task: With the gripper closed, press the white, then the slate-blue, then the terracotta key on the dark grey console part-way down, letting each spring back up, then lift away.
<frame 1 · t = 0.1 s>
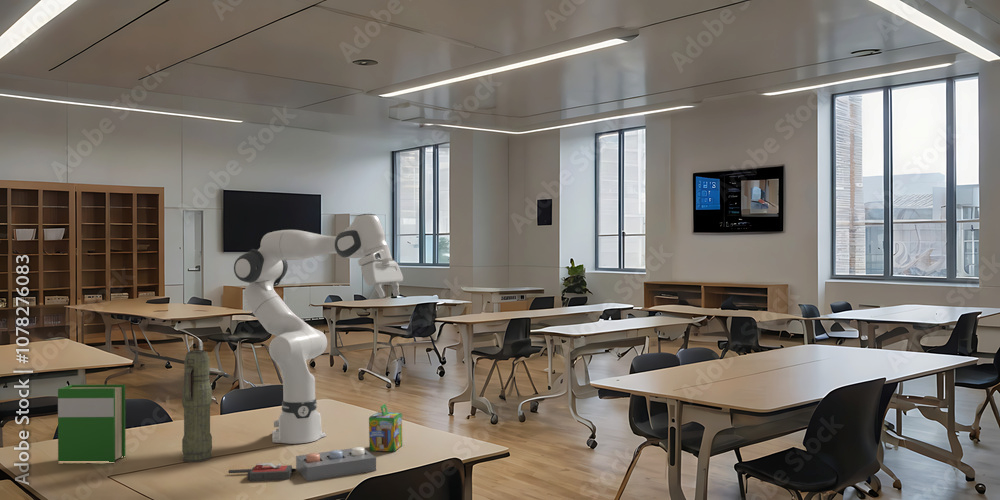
hand: (389, 296, 248), 52 cm above the table, tool tilted 20°, fingers open, 8 cm apart
red key: (313, 459, 220), point 4 cm above the table, slide at 0.0 cm
thermos: (197, 458, 237), on the table
chalk box: (386, 449, 248), on the table
blue key: (335, 456, 224), point 4 cm above the table, slide at 0.0 cm
hardback book: (92, 461, 235), on the table
console: (335, 469, 224), on the table
walkie-talkie: (260, 478, 217), on the table
white key: (357, 453, 227), point 4 cm above the table, slide at 0.0 cm
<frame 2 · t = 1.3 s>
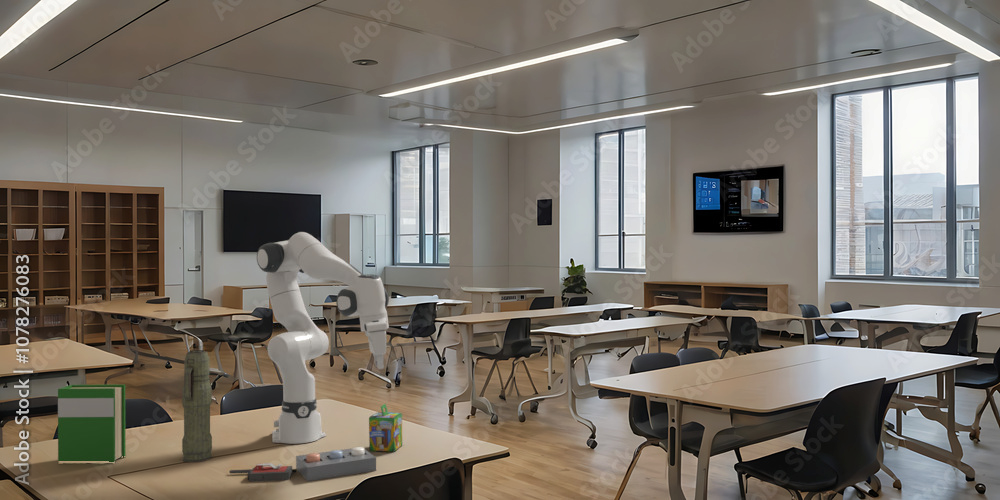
hand: (379, 367, 231), 30 cm above the table, tool pointing down, fingers open, 8 cm apart
nothing on the table moved.
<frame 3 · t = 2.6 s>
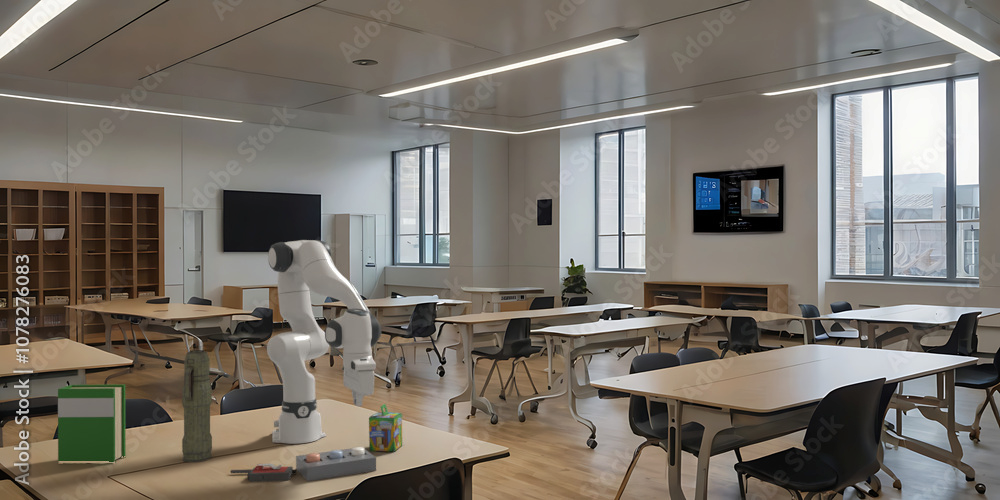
hand: (357, 405, 227), 19 cm above the table, tool pointing down, fingers closed
nothing on the table moved.
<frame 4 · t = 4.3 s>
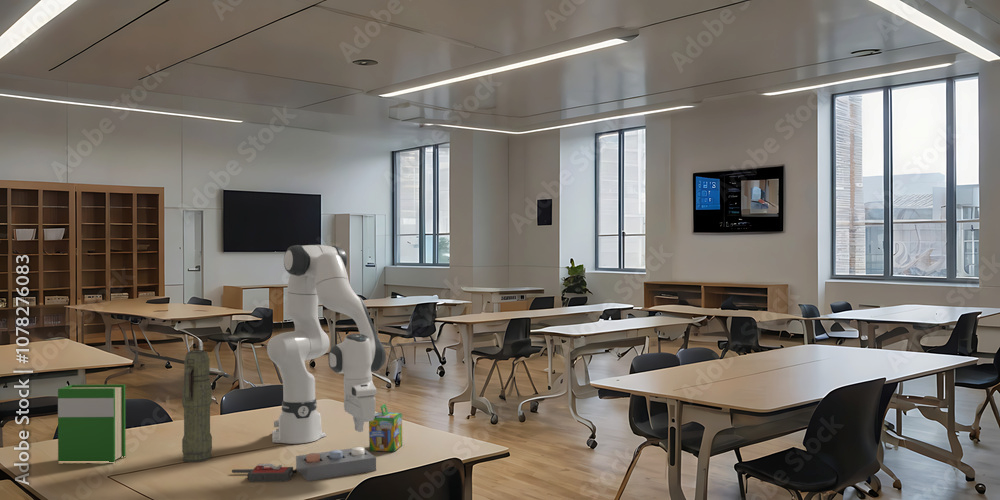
hand: (359, 431, 227), 11 cm above the table, tool pointing down, fingers closed
nothing on the table moved.
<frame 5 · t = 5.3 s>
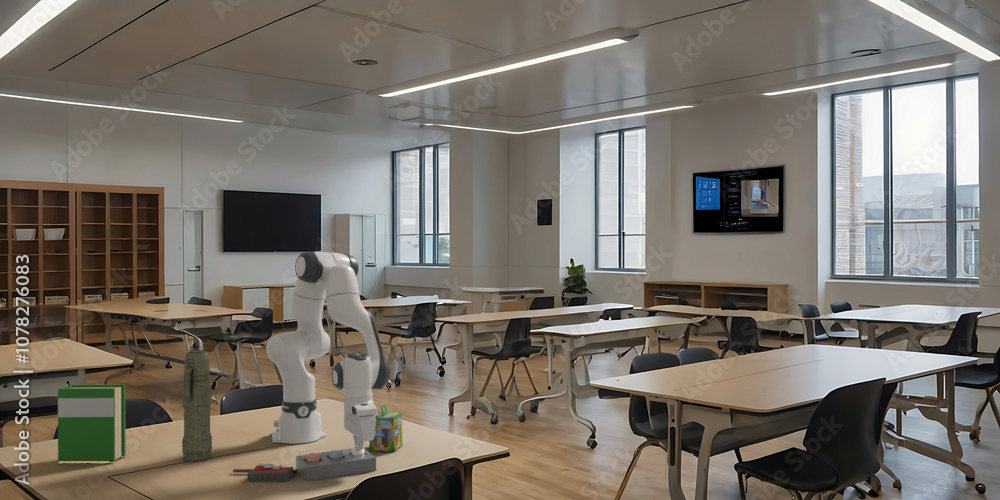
hand: (358, 449, 227), 5 cm above the table, tool pointing down, fingers closed, pressing on white key
white key: (357, 454, 227), point 4 cm above the table, slide at 0.2 cm, touching gripper
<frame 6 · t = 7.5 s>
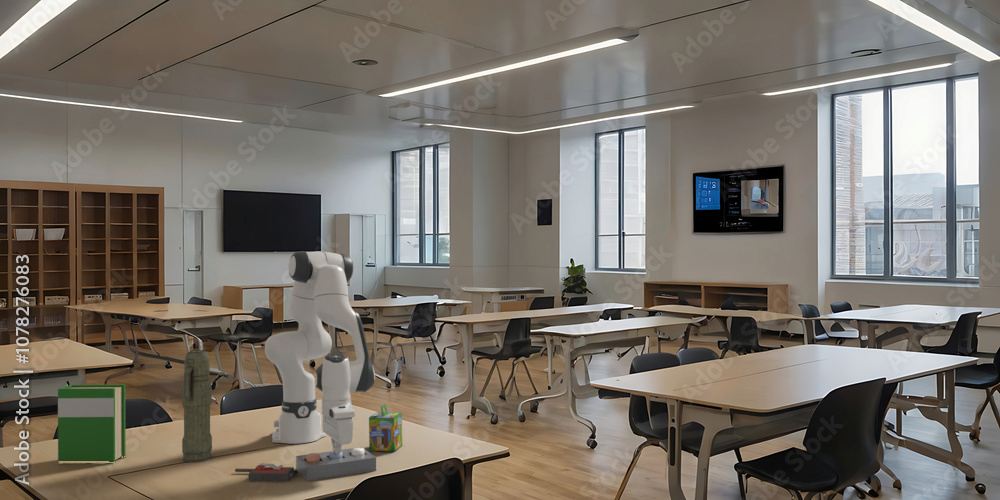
hand: (336, 452, 224), 5 cm above the table, tool pointing down, fingers closed, pressing on blue key
blue key: (335, 457, 224), point 4 cm above the table, slide at 0.3 cm, touching gripper
white key: (357, 454, 227), point 4 cm above the table, slide at 0.2 cm
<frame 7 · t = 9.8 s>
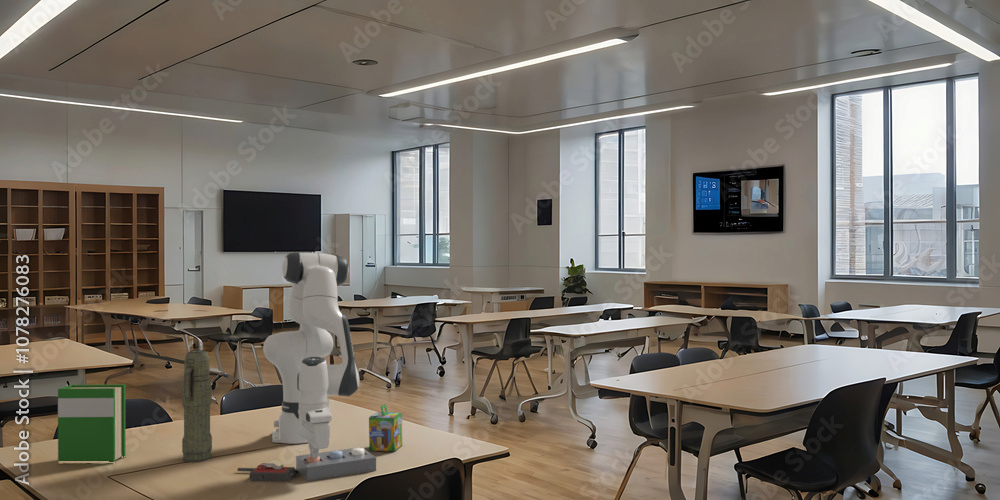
hand: (314, 457, 220), 5 cm above the table, tool pointing down, fingers closed, pressing on red key
red key: (313, 462, 220), point 3 cm above the table, slide at 0.7 cm, touching gripper
blue key: (335, 457, 224), point 4 cm above the table, slide at 0.1 cm
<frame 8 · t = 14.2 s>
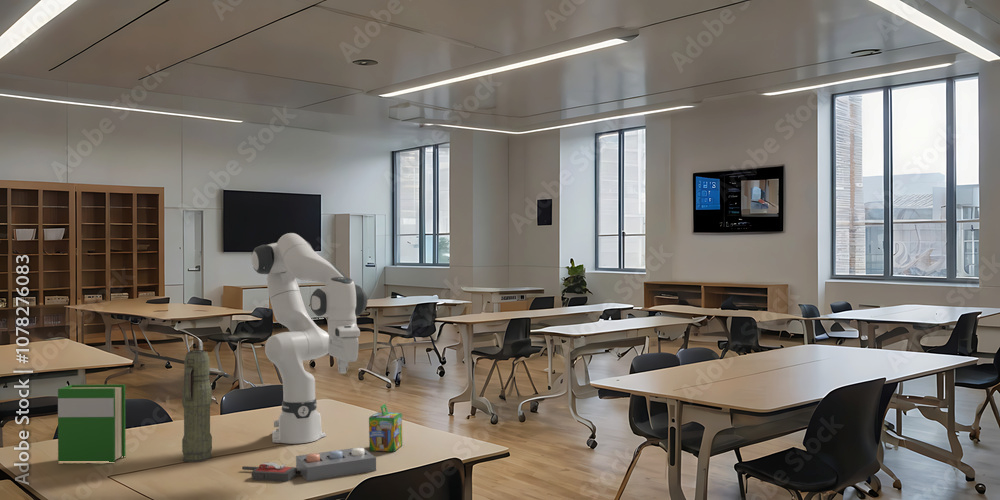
hand: (342, 373, 228), 29 cm above the table, tool pointing down, fingers closed
red key: (313, 460, 220), point 4 cm above the table, slide at 0.0 cm
at the end: white key slide at 0.2 cm; blue key slide at 0.1 cm; red key slide at 0.0 cm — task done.
